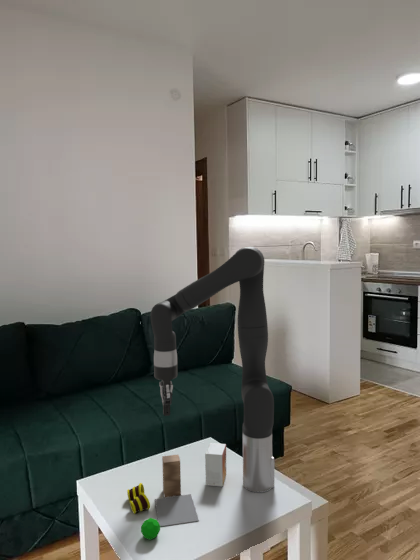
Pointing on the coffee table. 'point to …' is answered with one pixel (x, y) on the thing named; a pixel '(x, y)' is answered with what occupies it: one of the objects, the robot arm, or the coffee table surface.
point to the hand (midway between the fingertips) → (166, 414)
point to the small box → (215, 464)
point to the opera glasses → (138, 499)
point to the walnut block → (171, 475)
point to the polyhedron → (150, 528)
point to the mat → (175, 510)
